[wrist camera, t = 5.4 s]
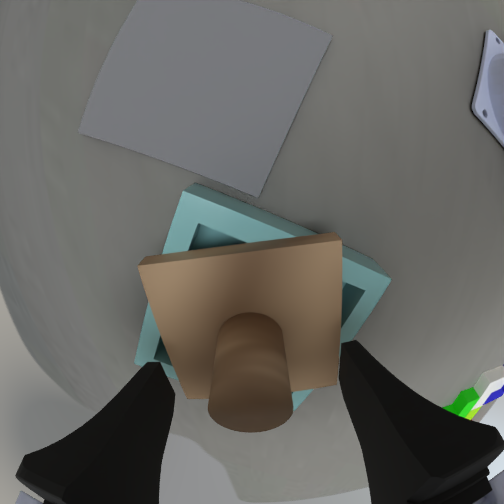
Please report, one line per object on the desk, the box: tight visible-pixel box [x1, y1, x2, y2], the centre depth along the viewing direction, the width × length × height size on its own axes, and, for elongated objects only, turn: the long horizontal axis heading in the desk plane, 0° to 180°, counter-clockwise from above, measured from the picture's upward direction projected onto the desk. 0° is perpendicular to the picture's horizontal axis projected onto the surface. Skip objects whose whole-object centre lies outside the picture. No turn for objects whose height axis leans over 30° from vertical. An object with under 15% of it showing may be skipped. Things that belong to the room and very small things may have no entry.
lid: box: [138, 232, 342, 432], centre depth 10 cm, size 8×8×5 cm
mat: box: [78, 0, 333, 198], centre depth 11 cm, size 10×9×1 cm
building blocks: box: [443, 365, 504, 420], centre depth 20 cm, size 15×13×4 cm
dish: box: [134, 183, 392, 411], centre depth 14 cm, size 10×10×2 cm
